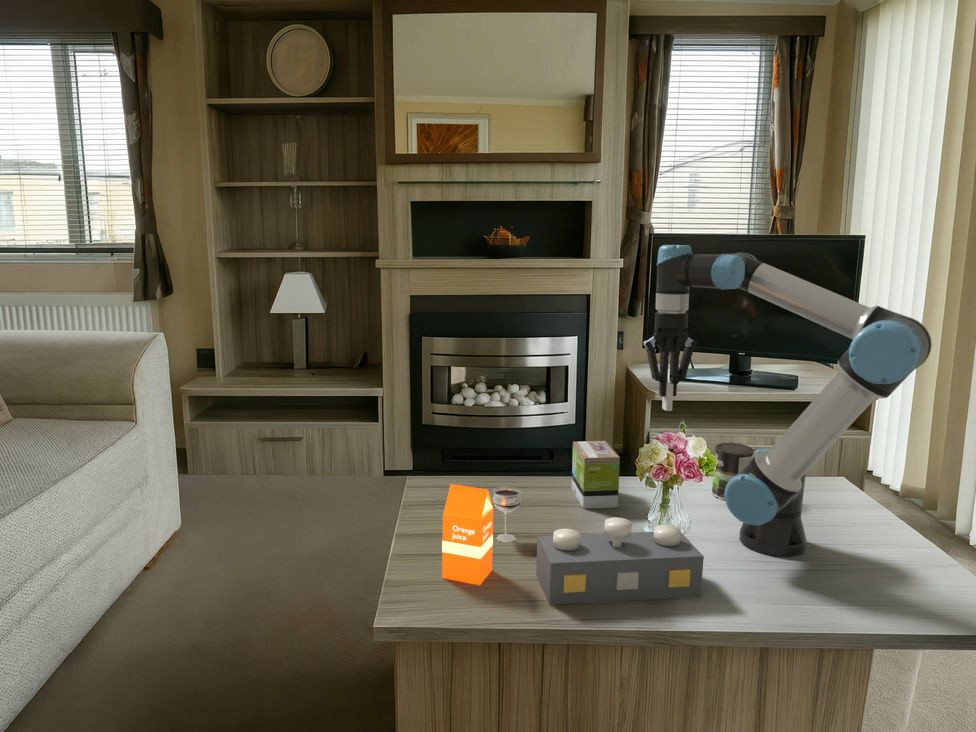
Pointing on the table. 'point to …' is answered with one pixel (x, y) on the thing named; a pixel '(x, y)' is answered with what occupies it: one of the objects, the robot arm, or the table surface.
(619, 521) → the middle button
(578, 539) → the button
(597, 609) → the table surface
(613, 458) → the tea box
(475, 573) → the orange juice
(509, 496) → the wineglass
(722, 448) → the coffee can
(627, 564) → the button console
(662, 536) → the button
